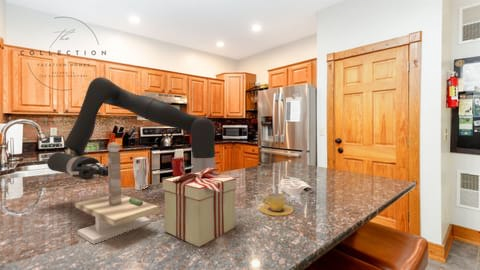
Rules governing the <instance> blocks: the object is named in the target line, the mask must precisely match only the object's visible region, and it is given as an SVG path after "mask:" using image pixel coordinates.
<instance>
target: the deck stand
mask: <svg viewBox="0 0 480 270" xmlns="http://www.w3.org/2000/svg"><path fill="white" fill-rule="evenodd" d="M94 217H95V216H94ZM94 220H95V224H93V225H89V226H86V227H83V228H80V229H77V235H78V236H79V237H81V238H82V239H84V240H85V241H87V242H89V243H90V242H91V244H92V243H93V244H92V245H96V244H95V243H97V244H99V243H101V241H102V242H105V241H107V240H109V238H110V239H113V238H114V236H115V237H118V236H119V234H120V235H123V234H125V233H124V232H126V233H128V232H130V231H129V230H131V231H133V230H132V229H134V230H136V229H139V228H141V227H144V226H147V225H148V224H151V219H150V218H148V217H147V216H143V217H141V218H138V219H135V220H132V221H129V222H126V223H123V224H120V225H117V226H113V225H111V224H109V223H107V222H105V221H103V220H101V219H99V218H97V217H95V219H94ZM127 231H128V232H127ZM122 233H123V234H122ZM117 235H118V236H117ZM112 237H113V238H112ZM104 240H105V241H104ZM98 242H99V243H98Z"/></svg>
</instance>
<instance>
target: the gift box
mask: <svg viewBox="0 0 480 270" xmlns="http://www.w3.org/2000/svg"><path fill="white" fill-rule="evenodd" d="M219 170H220V169H219V168H216V167H215V168H206V169H204V170H202V171H201V172H198V173H193V172H189V173H185V175H183V176H178V177H174V178H173V177H170V178H165V179H163V180H162V191H164V231H165V233H168V234H170V235H172V236H175V237H176V238H178V239H180V240H182V241H185V242H187V243H189V244H191V245H193V246H196V247H197V248H198V247H199V248H200V247H203V246H204V245H206V244H207V243H209V242H211V241H213V240H215V239H217V238H219V237H221V236H222V235H224V234H226V233H228V232H230V231H232V230H233V229H235V228H236V227H235V225H236V222H235V218H236V214H235V211H236V202H235V201H236V189H237V178H239V176H234V175H230V174H223V173H221V174H220V173H219V174H217V173H215V174H214V173H213V171H215V172H217V171H219Z"/></svg>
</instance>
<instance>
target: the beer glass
mask: <svg viewBox="0 0 480 270" xmlns="http://www.w3.org/2000/svg"><path fill="white" fill-rule="evenodd" d="M149 166H150V163H149V157H148V156H147V157H146V156H140V157H139V156H138V157H133V163H132V172H133V176H134V180H135V182H134V190H136V191H142V190H141V189H145V188H147V187H148V188H149V185H148V176H149V175H148V174H149V168H150V167H149ZM146 185H148V186H146ZM145 190H146V189H145Z"/></svg>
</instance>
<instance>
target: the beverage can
mask: <svg viewBox="0 0 480 270" xmlns="http://www.w3.org/2000/svg"><path fill="white" fill-rule="evenodd" d="M171 167H172V178H174V177H178V176H183V175H186V169H185V159H184V156H183V157H182V156H178V157H172V160H171Z"/></svg>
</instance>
